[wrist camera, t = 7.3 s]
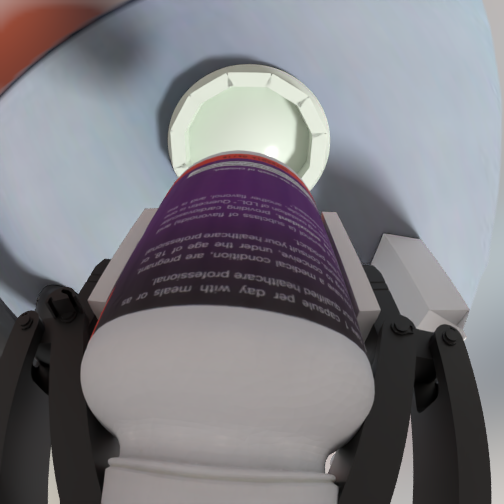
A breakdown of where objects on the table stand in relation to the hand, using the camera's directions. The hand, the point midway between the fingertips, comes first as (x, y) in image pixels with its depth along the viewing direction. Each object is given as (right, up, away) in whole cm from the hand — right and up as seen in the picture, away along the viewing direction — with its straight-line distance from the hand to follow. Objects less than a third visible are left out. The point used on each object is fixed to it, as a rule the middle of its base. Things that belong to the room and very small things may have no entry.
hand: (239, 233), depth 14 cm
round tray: (0, +11, +16) cm, 19 cm away
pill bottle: (0, +1, +2) cm, 2 cm away
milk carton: (+22, -1, +25) cm, 33 cm away
